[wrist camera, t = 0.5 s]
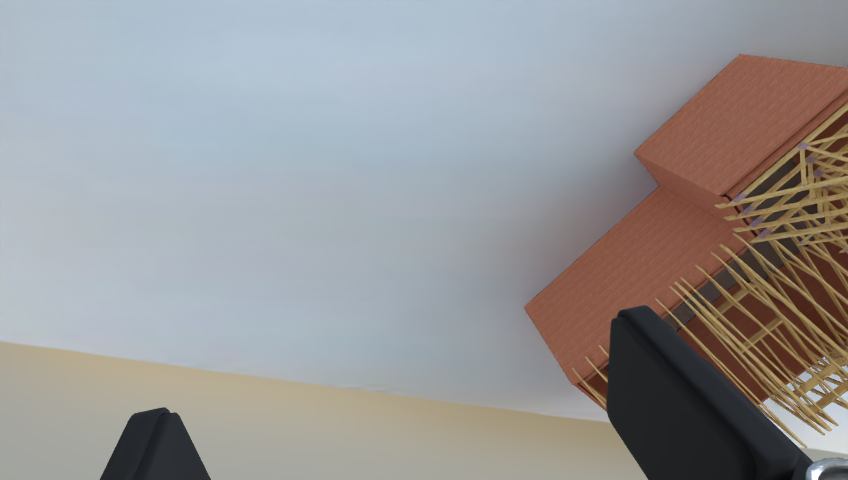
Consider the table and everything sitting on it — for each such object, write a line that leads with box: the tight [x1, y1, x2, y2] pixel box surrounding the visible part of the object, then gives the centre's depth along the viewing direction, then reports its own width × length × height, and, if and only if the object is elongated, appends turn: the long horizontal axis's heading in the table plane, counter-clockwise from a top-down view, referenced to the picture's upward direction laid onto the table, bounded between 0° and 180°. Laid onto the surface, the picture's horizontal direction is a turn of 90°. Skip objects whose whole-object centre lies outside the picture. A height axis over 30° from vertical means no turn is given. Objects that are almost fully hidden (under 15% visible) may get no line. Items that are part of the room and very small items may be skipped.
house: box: [524, 54, 848, 448], centre depth 39 cm, size 28×23×19 cm
